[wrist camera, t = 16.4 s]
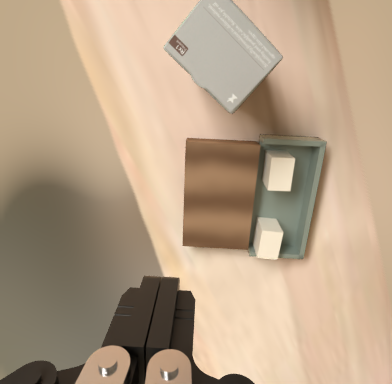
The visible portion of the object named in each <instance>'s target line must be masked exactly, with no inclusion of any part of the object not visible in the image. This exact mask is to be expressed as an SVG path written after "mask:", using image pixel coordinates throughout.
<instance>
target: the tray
mask: <svg viewBox="0 0 392 384" xmlns="http://www.w3.org/2000/svg"><path fill="white" fill-rule="evenodd" d="M326 143H327V142H326V141H324V140H322V139H320V138H318V137H299V136H279V135H260V138H259V144H260V155H259V163H258V171H257V179H256V188H255V196H254V204H253V213H252V221H251V229H250V238H249V246H248V252H249V256H256V253H255V249H254V246H253V237H254V232H255V226H256V221H257V217H263V218H273V219H277V221H278V223H279V225H280V227H281V229H282V231H283V237H282V242H281V246H280V251H279V255H278V258H292V259H303V258H304V253H305V248H306V243H307V238H308V233H309V228H310V223H311V218H312V213H313V208H314V203H315V198H316V193H317V188H318V183H319V178H320V173H321V168H322V163H323V158H324V153H325V148H326ZM265 150H276V151H287V152H288V153H290V154H291V155H292V156H293V157H294V158H295V164H294V170H293V177H292V184H291V190H290V191H269V190H267V188H266V187H265V185H264V183H263V181H262V175H263V166H264V157H265Z"/></svg>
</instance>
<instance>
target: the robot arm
mask: <svg viewBox="0 0 392 384" xmlns="http://www.w3.org/2000/svg"><path fill="white" fill-rule="evenodd" d="M179 283H180V279H179V278H174V277H155V276H144V277H143V280H142V283H141V286H140V288H129V289H128V290H127V291H126V292H125V293H124V294H123V295H122V297H121V299H120V302H119V304H118V307H117V309H116V312H115V316H114V317H113V319H112V322H111V324H110V327H109V329H108V332H107V334H106V337H105V339H104V342H103V344H102V347H101V348H100V349H98V350H97V351H95V352H94V353H93V354H92V355H91V356H90V357H89V358H88V360H87V362H86V363H85V364H83V365H80V366H77V367H74V368H70V369H66V370H61V371H57V370H56V368H55V366H54V365H53V364H52V363H50V362H47V361H35V362H31V363H28V364H26V365H24V366H22V367H21V368H19V369H18V370H16V371H14V372H13V373H11V374H10V375H8V376H6V377H5V378H3V379H2V380H0V384H254V383H253V382H252V381H251V380H250V379H249V378H247V377H245V376H243V375H239V374H228V375H225V376H224V377H222V378H221V379H219V380H218V379H216V378H213V377H211V376H209V375H207V374H205V373H203V372H202V371H201V370H200V369H199V368H198V367H197V366H196V364H195V362H194V360H193V356H192V351H193V333H194V314H195V299H194V297H193V295H192V293H191V291H182V290H179Z"/></svg>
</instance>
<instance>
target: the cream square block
mask: <svg viewBox="0 0 392 384" xmlns="http://www.w3.org/2000/svg"><path fill="white" fill-rule="evenodd" d="M282 237H283V231H282V229H281V227H280V225H279V223H278V221H277V219H273V218H263V217H257V221H256V226H255V232H254V237H253V246H254V249H255V253H256V256H257V258H264V259H273V260H278V255H279V251H280V246H281V242H282Z"/></svg>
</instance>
